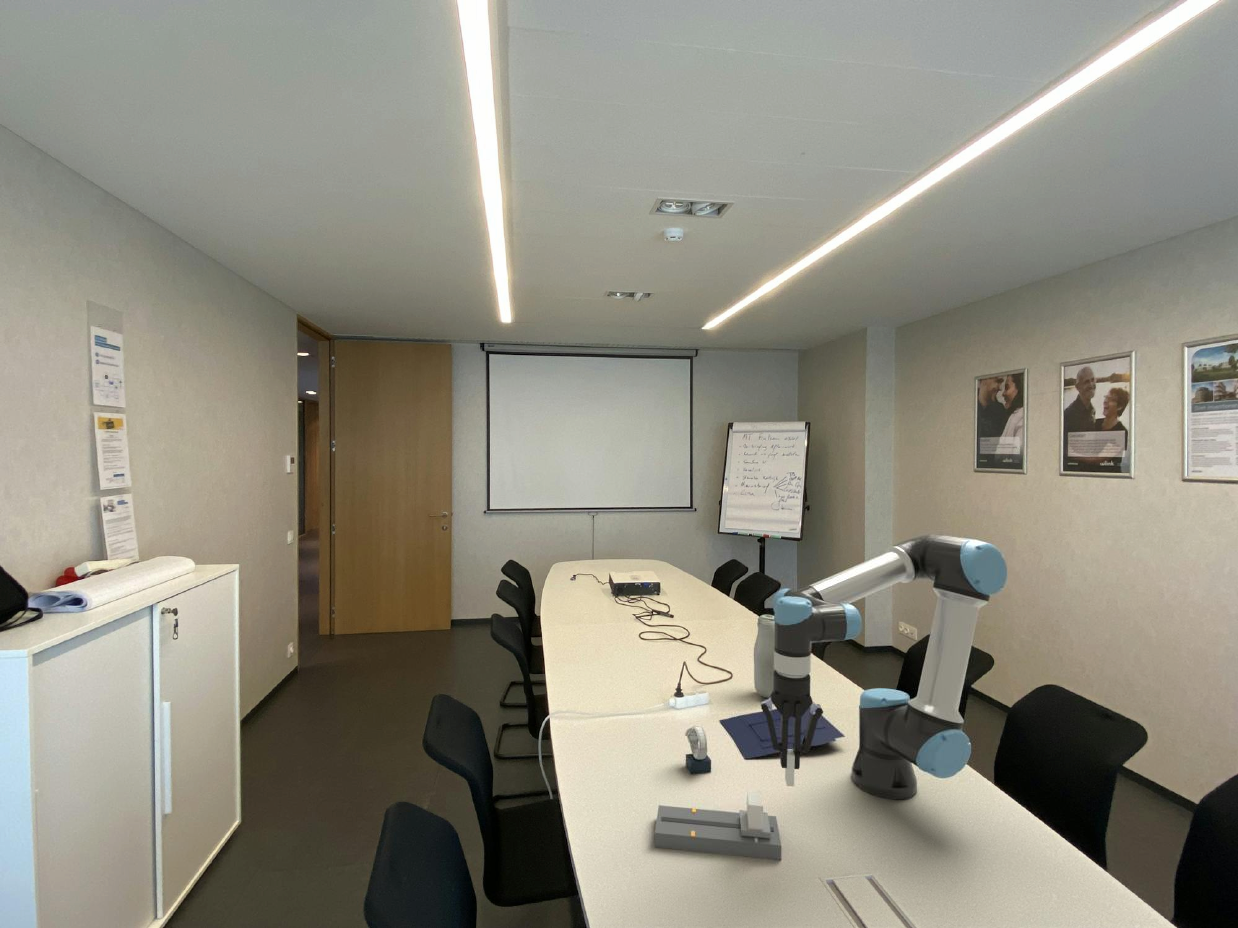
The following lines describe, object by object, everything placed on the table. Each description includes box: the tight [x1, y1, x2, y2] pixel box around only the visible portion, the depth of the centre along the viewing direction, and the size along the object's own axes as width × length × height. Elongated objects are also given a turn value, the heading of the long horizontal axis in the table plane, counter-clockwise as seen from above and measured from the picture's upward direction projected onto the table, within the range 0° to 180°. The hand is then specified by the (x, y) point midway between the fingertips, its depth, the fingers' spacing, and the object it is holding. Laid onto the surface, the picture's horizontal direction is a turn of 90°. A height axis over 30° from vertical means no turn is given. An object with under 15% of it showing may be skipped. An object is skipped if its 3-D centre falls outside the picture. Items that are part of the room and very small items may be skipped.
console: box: [654, 804, 782, 861], centre depth 129 cm, size 26×10×3 cm, turn 81°
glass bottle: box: [753, 614, 775, 699], centre depth 205 cm, size 10×10×28 cm
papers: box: [719, 707, 846, 759], centre depth 176 cm, size 24×30×4 cm
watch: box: [684, 724, 712, 775], centre depth 157 cm, size 6×8×11 cm
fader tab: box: [739, 789, 771, 838], centre depth 128 cm, size 6×7×6 cm
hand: (789, 782), depth 126 cm, fingers closed
